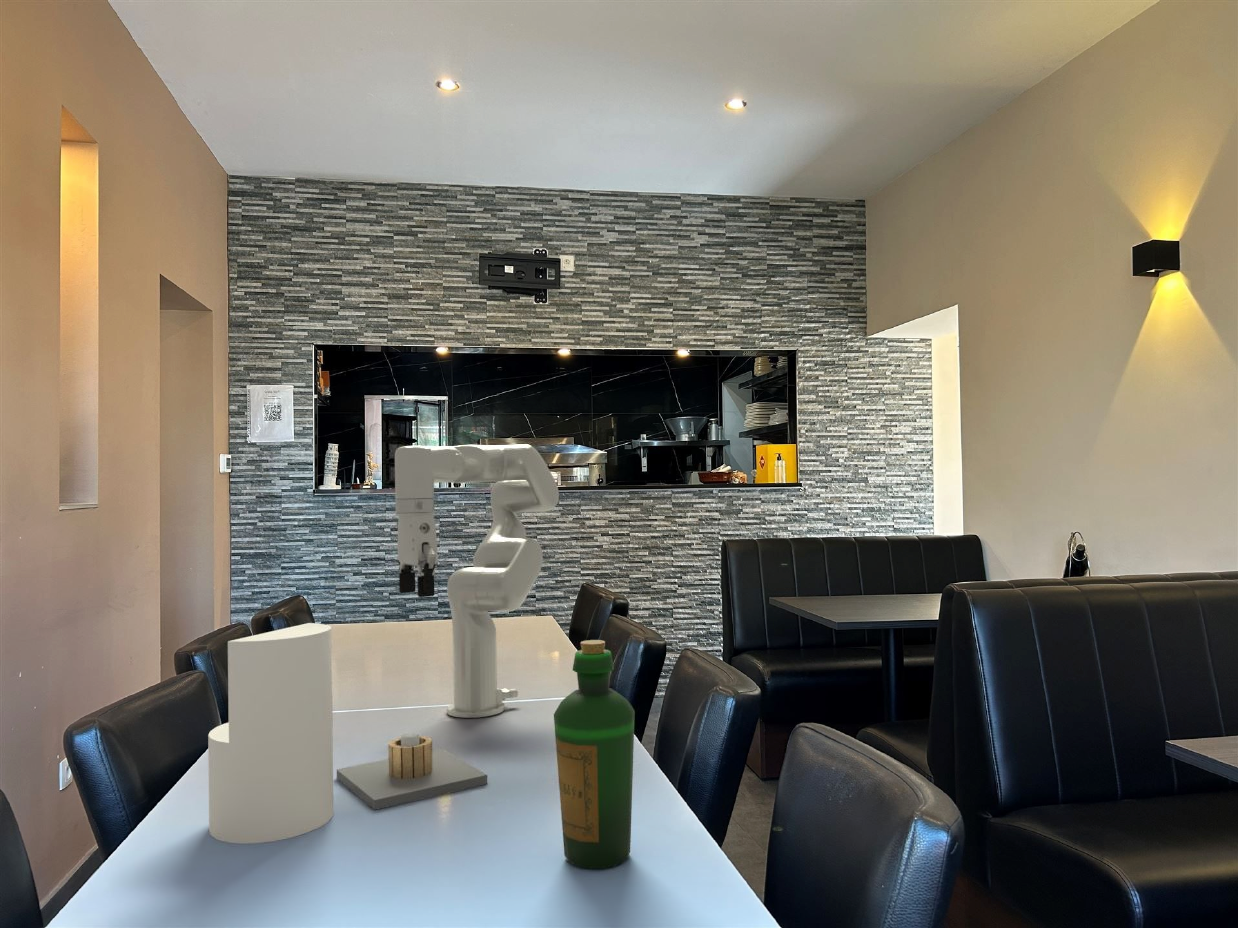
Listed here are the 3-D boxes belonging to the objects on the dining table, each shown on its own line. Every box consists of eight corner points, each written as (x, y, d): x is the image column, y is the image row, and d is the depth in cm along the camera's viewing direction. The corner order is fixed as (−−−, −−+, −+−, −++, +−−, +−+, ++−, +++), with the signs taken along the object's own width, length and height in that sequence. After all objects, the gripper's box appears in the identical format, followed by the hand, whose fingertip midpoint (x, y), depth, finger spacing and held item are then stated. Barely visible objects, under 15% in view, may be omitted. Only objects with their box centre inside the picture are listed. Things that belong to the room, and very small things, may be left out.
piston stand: (441, 756, 160) (440, 715, 161) (487, 783, 145) (486, 737, 145) (336, 778, 149) (336, 733, 150) (374, 809, 134) (373, 760, 134)
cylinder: (357, 805, 136) (354, 624, 137) (280, 849, 120) (278, 643, 121) (267, 795, 142) (264, 621, 143) (181, 835, 125) (179, 639, 126)
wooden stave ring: (422, 762, 152) (422, 733, 152) (438, 772, 146) (438, 742, 146) (383, 770, 148) (382, 740, 148) (398, 781, 142) (397, 750, 142)
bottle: (556, 843, 119) (552, 636, 120) (633, 838, 120) (629, 634, 121) (557, 877, 109) (552, 650, 110) (642, 872, 110) (637, 647, 111)
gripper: (450, 507, 169) (452, 596, 169) (416, 507, 184) (418, 589, 183) (413, 508, 165) (414, 599, 165) (381, 508, 179) (383, 592, 179)
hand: (416, 594), depth 174 cm, fingers open, 9 cm apart
